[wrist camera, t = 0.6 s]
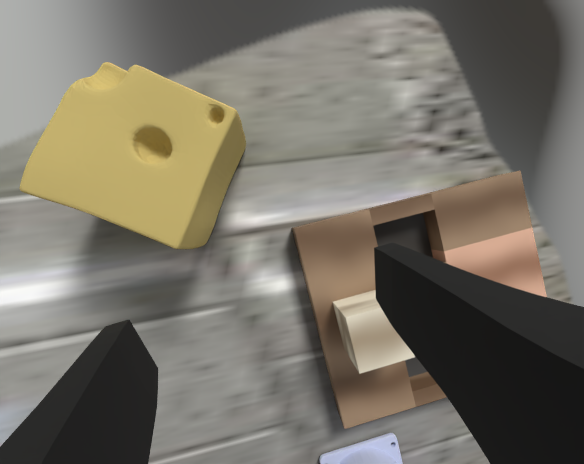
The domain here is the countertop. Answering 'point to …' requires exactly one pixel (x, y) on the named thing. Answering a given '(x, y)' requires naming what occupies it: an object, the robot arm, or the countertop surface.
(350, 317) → the block
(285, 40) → the countertop surface
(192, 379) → the countertop surface
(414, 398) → the trap deck
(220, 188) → the cheese
